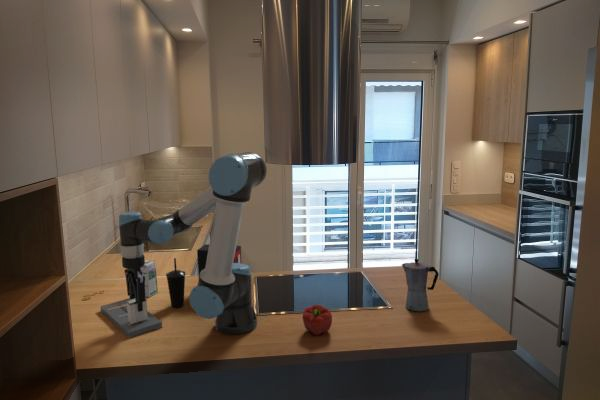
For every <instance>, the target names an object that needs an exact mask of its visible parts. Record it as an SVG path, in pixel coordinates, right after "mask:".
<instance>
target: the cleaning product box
mask: <svg viewBox="0 0 600 400" xmlns="http://www.w3.org/2000/svg"><path fill="white" fill-rule="evenodd" d="M208 249H209V244H207V243H206V244H204V245H202V246H201V247H199V248H198V249H197V250H196V251H197V252H196V253H197V271H198V274H197V276H198V277H199V274H200V272H201V271H202V270H204V269H205V267H206V261H207V255H208ZM233 263H241V264H242V246H241V245H236V251H235V256H234V262H233Z"/></svg>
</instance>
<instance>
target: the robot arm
mask: <svg viewBox="0 0 600 400" xmlns="http://www.w3.org/2000/svg"><path fill="white" fill-rule="evenodd" d="M266 176H267V164H266V161H264V159H263V158H262V157H261V156H260V155H258V154H256V153H254V152H247V151H246V152H243V153H236V154H235V153H234V154H233V153H229V154H226V155H223V156H219V157H218V158H217V159H216V160H214V161H213V163H212V164H211V166H210V168H209V170H208V183H209V184H210V186H209V187H208V188H206V189H205V190H204V191H203V192H201V193H199V194H198V195H196V196H195V197H194V198H193V199H191V200H189V202H187V203H186V204H184V205H183V206H182V207H180V208H179V209H177V210H176V211H174V212H173V213H171V214H169V215H165V216H161V217H159V218H156V219H145V218H143V217H142V213H141V212H139V211H126V212H122V213H120V214H119V216H118V229H119V239H120V255H121V263H122V268H124V274H125V282H126V283H125V284H126V293H127V296H128V297H129V298H130V299H135V301H136V302H134V304H135V315H136V320H140V319H143V318H144V311H143V302H145V298H146V297H145V276H143V277H142V271H141V269H140V268H141V267H142V266H144V264H145V260H146V259H145V255H144V253H145V248H144V247H146V245H145V244H144V242H147V243H148V242H149V243H154V244H166V243H168V242H170V240H171V239H172V238H173V236H176V235H178V234H181V233H184V232H187V231H189V230H190V229H191V228H192V227H193V225H194V224H196V223H198V222H199V221H201V220H202V219H203V218H205V217H206V216H208V215H209V214H211V213H212V212H214V213H213V219H212V226H211V232H210V238H209V244H208V245H209V249H208V255H207V261H206V267H205V269H204V270H202V271H201V272H200V274H199V276H198V282H197V285H196V286H193V288H192V289H191V290H190V293H189V297H188V298H189V304H190V306H191V308H192V309H193V310H194V312H195V313H196V314H197V315H199V316H200V317H202V318H203V319H210V320H211V319H215V321H214V322H215V324H214V325H215V329H216V331H218V332H219V333H221V334H225V335H235V336H236V335H242V334H246V333H249V332H251V331H253V330H255V329H256V328H257V326H258V317H257V314H256V311H255V310H254V307H253V301H252V298H253V297H252V296H253V295H252V273H251V272H252V271H251V267H250V266H249V265H247V264H246V263H242V262H241V263H233V262H234V256H235V251H236V246H238V245H237V243H238V240H239V239H238V238H239V233H240V229H241V224H242V218H243V217H242V216H243V213H244V206H245V205H246V204H247V203H249V202H250V200H251V195H252V189H254V188H256V187H258V186H260V185H261V184H262V183H263V182H264V181H265V179H266V178H267V177H266Z"/></svg>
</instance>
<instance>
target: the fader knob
mask: <svg viewBox="0 0 600 400" xmlns="http://www.w3.org/2000/svg"><path fill="white" fill-rule="evenodd" d="M134 302H136V301H135V299H131V300H127V311H128V322H130V323H131V324H134V323H137V322H141V321H144V320H147V319H148V315H147V311H148V303H147V297H145V302H143V311H144V318H143V319H140V320H136V315H135V304H134Z"/></svg>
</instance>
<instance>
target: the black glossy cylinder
mask: <svg viewBox="0 0 600 400" xmlns="http://www.w3.org/2000/svg"><path fill="white" fill-rule="evenodd" d="M176 259H177V258H176V257H174V258H173V263H174V269H173V270H170V271H168V272H167V273H166V274H165V277H166V279H167V285H168V286H167V287H168V291H169V292H168V293H169V299H170V304H171V308H173V309H180V308H182V307H184V304H185V287H186V285H185V284H186V283H185V281H186V271H184V270H181V269H177V260H176Z"/></svg>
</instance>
